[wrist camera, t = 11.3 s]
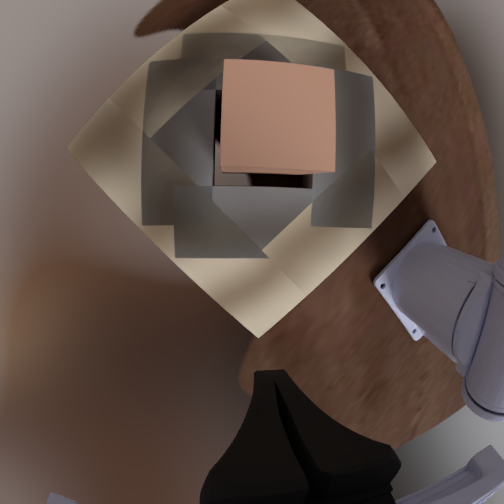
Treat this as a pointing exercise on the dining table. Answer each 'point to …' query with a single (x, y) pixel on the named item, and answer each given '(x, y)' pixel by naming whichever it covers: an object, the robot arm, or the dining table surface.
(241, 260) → the socket board
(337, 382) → the dining table surface
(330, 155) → the peg
